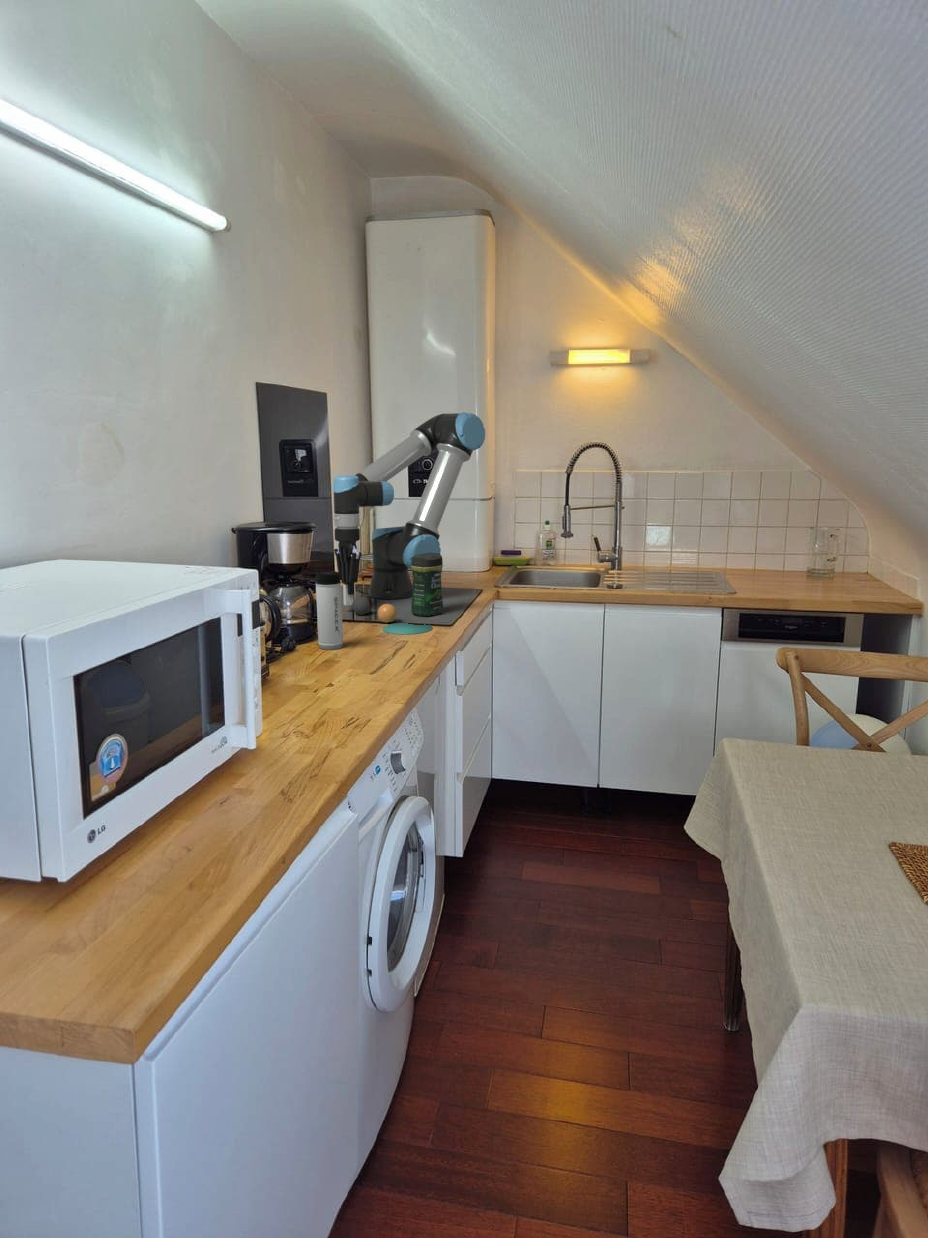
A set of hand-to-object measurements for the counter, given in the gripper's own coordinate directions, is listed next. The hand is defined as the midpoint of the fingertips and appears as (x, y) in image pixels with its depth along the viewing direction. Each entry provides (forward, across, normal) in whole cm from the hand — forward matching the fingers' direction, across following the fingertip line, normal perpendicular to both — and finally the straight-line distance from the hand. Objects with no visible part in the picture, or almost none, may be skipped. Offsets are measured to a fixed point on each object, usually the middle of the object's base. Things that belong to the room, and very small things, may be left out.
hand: (348, 604), depth 252 cm
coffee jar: (+2, +17, +18) cm, 25 cm away
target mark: (+2, +30, +2) cm, 30 cm away
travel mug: (+3, +35, -24) cm, 43 cm away
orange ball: (0, +20, +2) cm, 20 cm away
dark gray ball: (0, +6, +1) cm, 6 cm away
